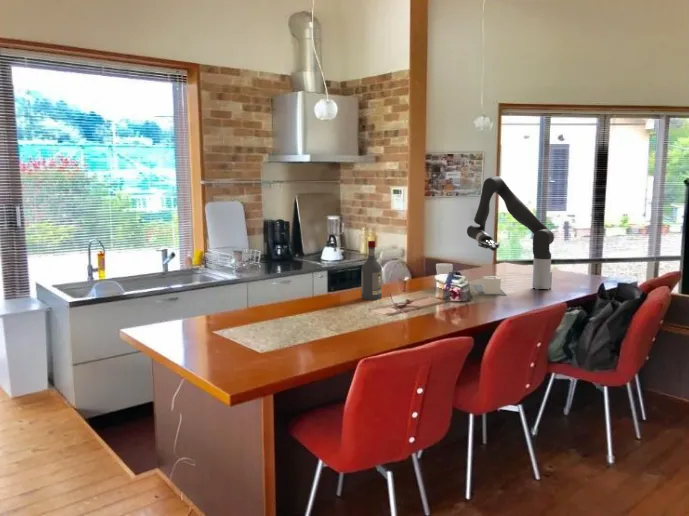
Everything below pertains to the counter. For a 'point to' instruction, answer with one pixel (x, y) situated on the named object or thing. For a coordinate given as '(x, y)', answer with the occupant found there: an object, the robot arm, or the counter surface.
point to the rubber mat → (479, 290)
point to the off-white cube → (491, 284)
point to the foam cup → (443, 268)
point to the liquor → (371, 276)
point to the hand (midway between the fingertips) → (494, 249)
